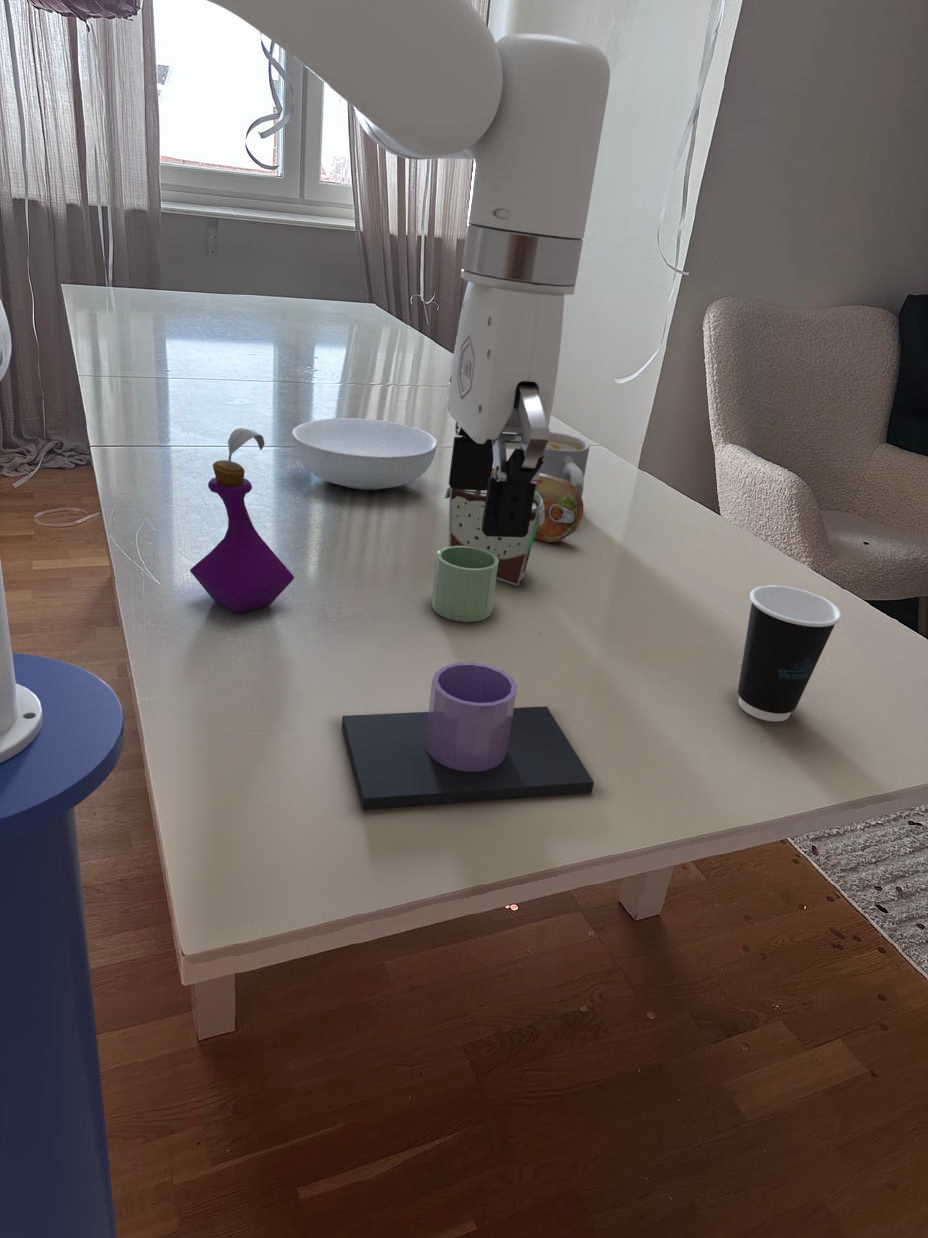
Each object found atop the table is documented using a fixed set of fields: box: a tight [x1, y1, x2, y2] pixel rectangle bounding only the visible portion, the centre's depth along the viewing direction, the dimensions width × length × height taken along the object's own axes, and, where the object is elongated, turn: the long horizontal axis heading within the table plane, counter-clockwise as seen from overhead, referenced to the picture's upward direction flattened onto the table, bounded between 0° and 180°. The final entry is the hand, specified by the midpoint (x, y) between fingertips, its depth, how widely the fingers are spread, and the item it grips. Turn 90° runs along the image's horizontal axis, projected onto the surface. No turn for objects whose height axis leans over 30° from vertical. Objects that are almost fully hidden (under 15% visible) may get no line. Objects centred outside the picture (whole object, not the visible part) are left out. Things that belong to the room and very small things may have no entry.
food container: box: [444, 486, 545, 587], centre depth 106 cm, size 12×6×10 cm, turn 62°
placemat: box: [341, 705, 595, 810], centre depth 72 cm, size 18×11×1 cm, turn 105°
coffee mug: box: [539, 431, 590, 498], centre depth 127 cm, size 13×10×10 cm
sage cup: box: [431, 546, 499, 623], centre depth 96 cm, size 6×6×6 cm
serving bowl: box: [291, 417, 438, 491], centre depth 131 cm, size 21×21×7 cm
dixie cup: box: [737, 584, 842, 723], centre depth 82 cm, size 8×8×11 cm
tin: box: [491, 467, 584, 543], centre depth 119 cm, size 15×3×8 cm, turn 58°
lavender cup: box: [426, 661, 518, 772], centre depth 70 cm, size 6×6×6 cm
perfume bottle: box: [189, 427, 295, 615], centre depth 88 cm, size 8×8×18 cm
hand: (485, 510), depth 66 cm, fingers open, 9 cm apart
